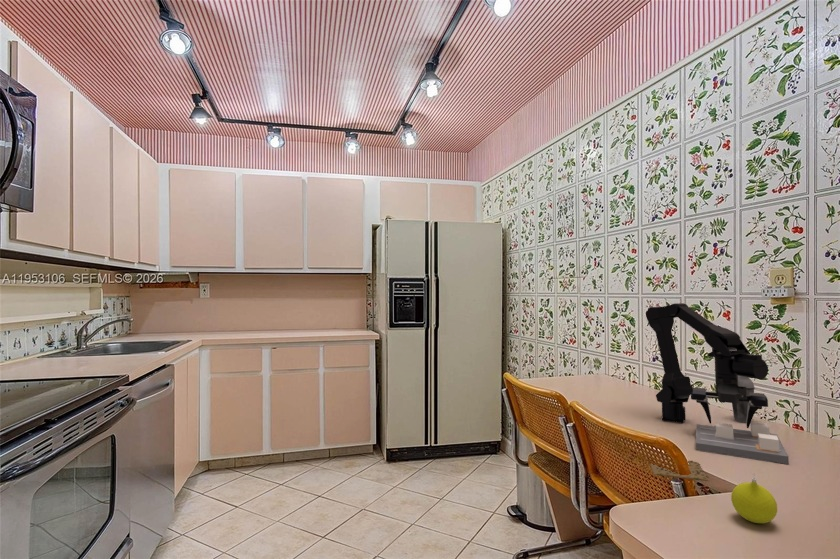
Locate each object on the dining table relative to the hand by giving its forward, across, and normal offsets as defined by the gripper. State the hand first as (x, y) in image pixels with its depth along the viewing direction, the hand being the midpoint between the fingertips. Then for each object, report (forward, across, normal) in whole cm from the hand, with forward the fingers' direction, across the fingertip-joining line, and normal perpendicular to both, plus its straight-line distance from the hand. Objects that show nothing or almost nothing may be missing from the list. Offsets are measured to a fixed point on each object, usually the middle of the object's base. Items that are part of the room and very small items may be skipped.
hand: (728, 425), depth 130 cm
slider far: (+2, +7, 0) cm, 8 cm away
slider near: (+2, +8, -12) cm, 15 cm away
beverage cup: (+4, +5, +23) cm, 24 cm away
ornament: (+4, +2, -54) cm, 54 cm away
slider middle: (+2, -1, -6) cm, 6 cm away
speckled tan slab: (+5, -12, -33) cm, 35 cm away
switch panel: (+4, +2, -6) cm, 7 cm away
